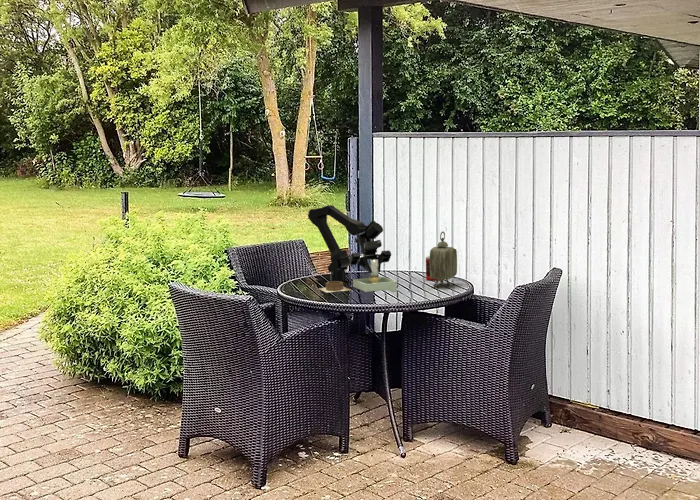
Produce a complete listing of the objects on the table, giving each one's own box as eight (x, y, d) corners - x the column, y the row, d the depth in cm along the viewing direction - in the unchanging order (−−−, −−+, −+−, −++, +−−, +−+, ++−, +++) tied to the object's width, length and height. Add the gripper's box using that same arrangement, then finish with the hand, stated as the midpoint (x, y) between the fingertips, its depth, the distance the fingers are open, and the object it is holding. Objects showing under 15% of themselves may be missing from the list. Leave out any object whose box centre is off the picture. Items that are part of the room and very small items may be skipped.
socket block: (342, 288, 358) (342, 279, 357) (351, 292, 347) (351, 283, 346) (317, 290, 354) (317, 281, 353) (326, 295, 343) (326, 285, 342)
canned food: (444, 278, 376) (444, 256, 375) (439, 281, 369) (438, 258, 368) (429, 277, 379) (428, 255, 378) (423, 280, 372) (423, 257, 371)
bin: (383, 286, 360) (383, 276, 360) (396, 291, 346) (396, 281, 346) (353, 289, 355) (352, 279, 354) (365, 294, 341) (365, 284, 340)
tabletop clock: (439, 282, 364) (438, 229, 361) (458, 283, 361) (457, 230, 358) (430, 288, 351) (428, 233, 348) (449, 289, 348) (448, 233, 345)
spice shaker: (374, 282, 354) (374, 258, 352) (381, 283, 350) (381, 259, 348) (366, 283, 350) (366, 259, 349) (374, 285, 347) (373, 260, 345)
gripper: (350, 235, 348) (359, 262, 339) (389, 232, 354) (398, 259, 345) (345, 250, 357) (353, 278, 348) (383, 248, 362) (392, 274, 353)
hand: (375, 272), depth 348 cm, fingers closed on spice shaker, 4 cm apart
